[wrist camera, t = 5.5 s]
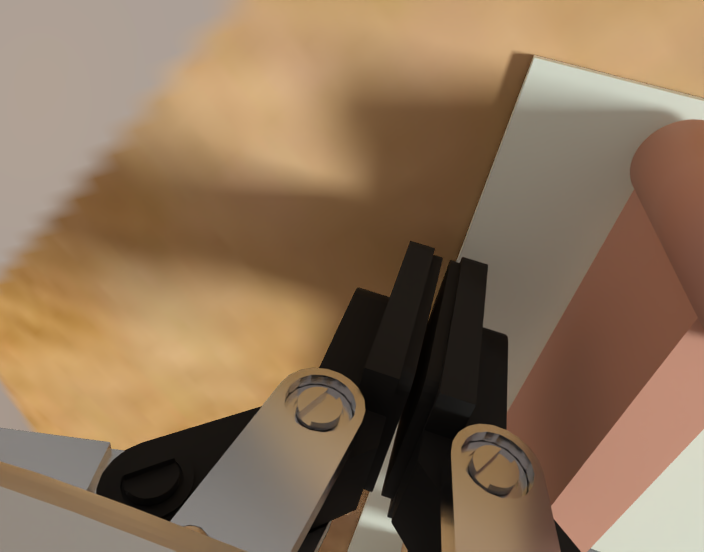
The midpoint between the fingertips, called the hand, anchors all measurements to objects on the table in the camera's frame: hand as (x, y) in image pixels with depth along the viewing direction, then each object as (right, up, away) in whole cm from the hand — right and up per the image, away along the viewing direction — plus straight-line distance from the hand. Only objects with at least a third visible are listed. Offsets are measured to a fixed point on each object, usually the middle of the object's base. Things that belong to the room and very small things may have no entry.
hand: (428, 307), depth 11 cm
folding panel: (+3, -2, +2) cm, 4 cm away
